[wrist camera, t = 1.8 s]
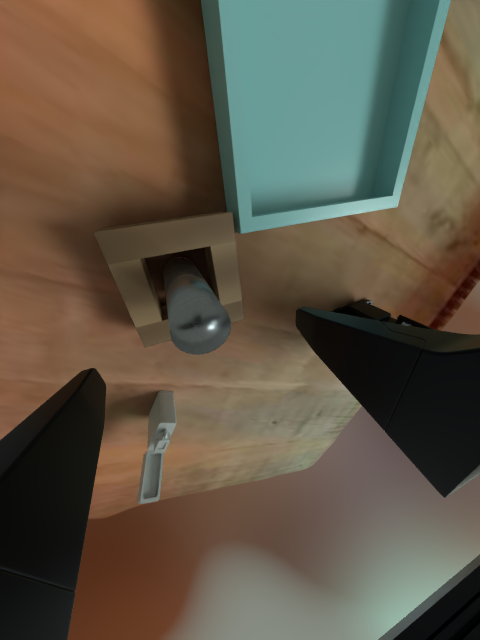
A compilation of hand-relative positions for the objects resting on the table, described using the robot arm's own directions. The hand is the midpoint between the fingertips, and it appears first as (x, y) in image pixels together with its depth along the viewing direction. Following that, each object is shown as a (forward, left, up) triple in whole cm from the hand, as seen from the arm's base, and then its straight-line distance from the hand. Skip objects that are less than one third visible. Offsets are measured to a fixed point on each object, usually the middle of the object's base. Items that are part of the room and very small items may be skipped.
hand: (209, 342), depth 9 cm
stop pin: (0, 0, -11) cm, 11 cm away
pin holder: (0, 0, -11) cm, 11 cm away
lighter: (-16, +7, -11) cm, 21 cm away
